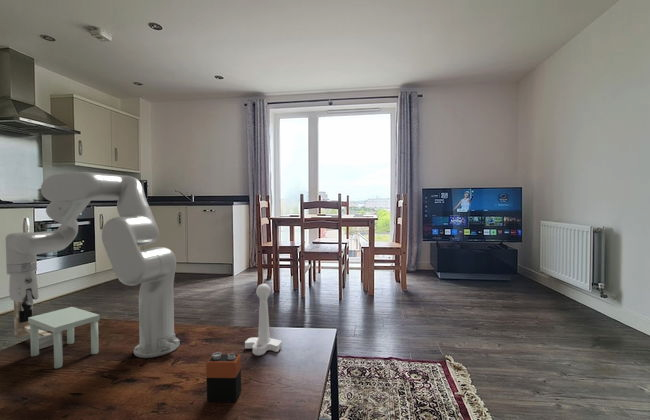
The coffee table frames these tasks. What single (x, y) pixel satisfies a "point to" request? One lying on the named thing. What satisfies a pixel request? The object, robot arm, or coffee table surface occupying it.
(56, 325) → the stand
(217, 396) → the battery
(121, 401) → the coffee table surface
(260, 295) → the joystick
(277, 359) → the coffee table surface
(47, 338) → the hoe
